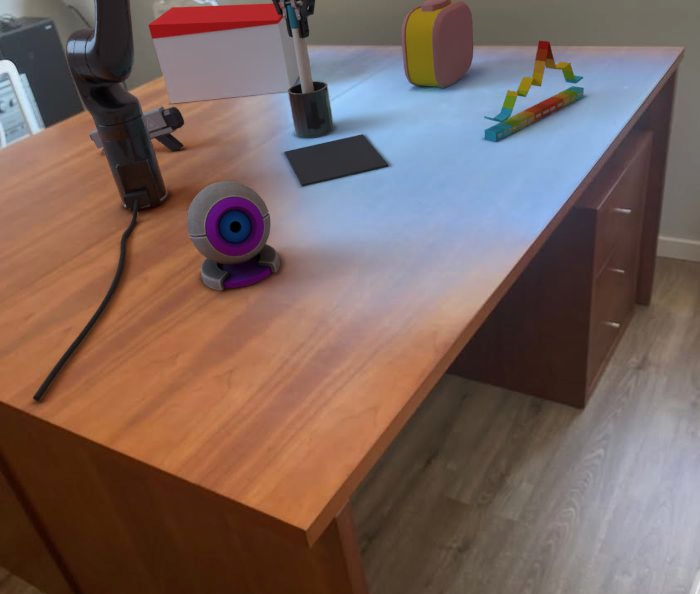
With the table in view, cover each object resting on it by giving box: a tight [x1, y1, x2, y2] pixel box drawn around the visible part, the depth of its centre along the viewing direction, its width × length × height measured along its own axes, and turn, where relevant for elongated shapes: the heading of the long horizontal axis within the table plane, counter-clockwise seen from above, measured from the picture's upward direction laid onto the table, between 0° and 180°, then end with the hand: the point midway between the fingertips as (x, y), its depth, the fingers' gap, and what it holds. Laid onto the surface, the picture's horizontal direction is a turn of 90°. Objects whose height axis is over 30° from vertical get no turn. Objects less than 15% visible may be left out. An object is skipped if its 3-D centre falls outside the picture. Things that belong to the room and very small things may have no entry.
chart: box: [483, 40, 585, 142], centre depth 153 cm, size 30×3×15 cm, turn 131°
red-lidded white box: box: [147, 2, 300, 105], centre depth 202 cm, size 21×35×21 cm, turn 83°
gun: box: [89, 105, 185, 155], centre depth 171 cm, size 2×25×10 cm, turn 77°
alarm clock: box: [400, 0, 474, 89], centre depth 181 cm, size 18×11×19 cm, turn 144°
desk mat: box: [284, 133, 389, 187], centre depth 153 cm, size 20×18×1 cm
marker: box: [287, 4, 314, 94], centre depth 158 cm, size 3×3×19 cm
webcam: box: [186, 180, 281, 291], centre depth 115 cm, size 13×13×15 cm
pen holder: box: [287, 80, 335, 139], centre depth 166 cm, size 9×9×10 cm
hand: (299, 36), depth 157 cm, fingers closed on marker, 3 cm apart
